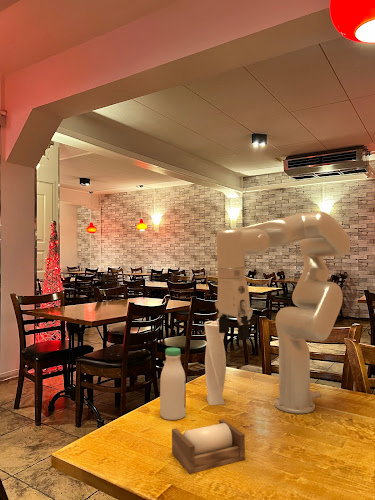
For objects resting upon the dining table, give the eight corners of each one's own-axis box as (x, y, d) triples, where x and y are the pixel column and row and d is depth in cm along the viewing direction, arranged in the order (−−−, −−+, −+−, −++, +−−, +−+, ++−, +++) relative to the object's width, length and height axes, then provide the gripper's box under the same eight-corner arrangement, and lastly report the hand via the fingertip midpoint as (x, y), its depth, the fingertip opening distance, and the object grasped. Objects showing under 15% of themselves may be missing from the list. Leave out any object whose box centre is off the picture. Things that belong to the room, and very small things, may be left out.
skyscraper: (229, 406, 125) (229, 318, 126) (207, 407, 124) (206, 319, 125) (223, 397, 133) (223, 315, 134) (202, 398, 132) (202, 315, 133)
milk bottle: (182, 421, 113) (182, 352, 114) (157, 419, 115) (157, 351, 115) (188, 411, 121) (188, 346, 121) (163, 409, 122) (163, 345, 123)
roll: (220, 443, 98) (220, 419, 99) (233, 453, 93) (233, 428, 93) (182, 452, 94) (182, 426, 94) (193, 463, 89) (193, 436, 89)
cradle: (223, 441, 101) (223, 418, 101) (244, 459, 92) (244, 434, 92) (171, 453, 95) (171, 429, 95) (189, 473, 86) (189, 447, 86)
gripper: (261, 274, 102) (263, 340, 102) (226, 272, 118) (228, 328, 118) (237, 276, 99) (239, 344, 99) (204, 273, 114) (206, 332, 114)
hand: (233, 335), depth 108 cm, fingers open, 9 cm apart
